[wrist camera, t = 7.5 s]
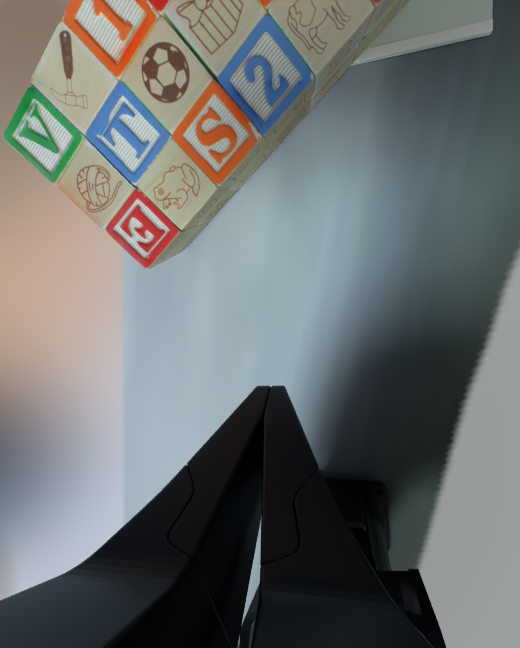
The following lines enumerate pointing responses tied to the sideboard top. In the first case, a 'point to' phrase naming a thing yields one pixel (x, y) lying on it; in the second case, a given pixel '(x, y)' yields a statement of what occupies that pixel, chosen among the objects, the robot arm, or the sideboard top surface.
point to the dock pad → (430, 27)
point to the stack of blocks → (179, 103)
